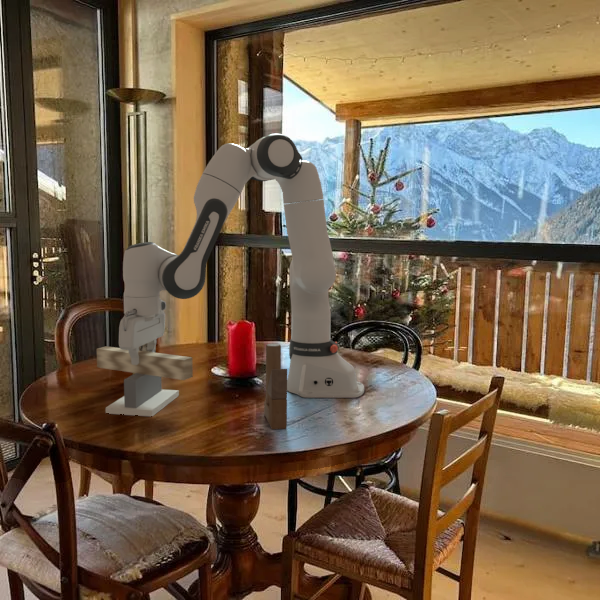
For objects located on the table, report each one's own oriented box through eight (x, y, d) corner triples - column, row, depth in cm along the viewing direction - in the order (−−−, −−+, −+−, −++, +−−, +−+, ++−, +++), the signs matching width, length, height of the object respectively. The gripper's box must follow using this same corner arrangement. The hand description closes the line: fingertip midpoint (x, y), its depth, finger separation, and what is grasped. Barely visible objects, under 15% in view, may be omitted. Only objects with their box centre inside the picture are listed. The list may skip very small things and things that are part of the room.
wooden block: (271, 430, 136) (271, 352, 133) (264, 415, 146) (264, 343, 144) (287, 429, 137) (288, 352, 134) (278, 414, 147) (279, 342, 145)
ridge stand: (178, 395, 162) (178, 365, 161) (152, 416, 144) (151, 382, 143) (137, 393, 164) (136, 362, 163) (105, 413, 146) (104, 379, 145)
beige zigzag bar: (192, 377, 148) (192, 357, 148) (184, 380, 145) (183, 360, 145) (106, 364, 160) (106, 346, 160) (97, 367, 157) (96, 348, 157)
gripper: (136, 313, 140) (137, 370, 142) (168, 302, 160) (169, 352, 162) (111, 312, 141) (112, 369, 143) (146, 301, 161) (147, 351, 163)
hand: (143, 360), depth 152 cm, fingers open, 7 cm apart
